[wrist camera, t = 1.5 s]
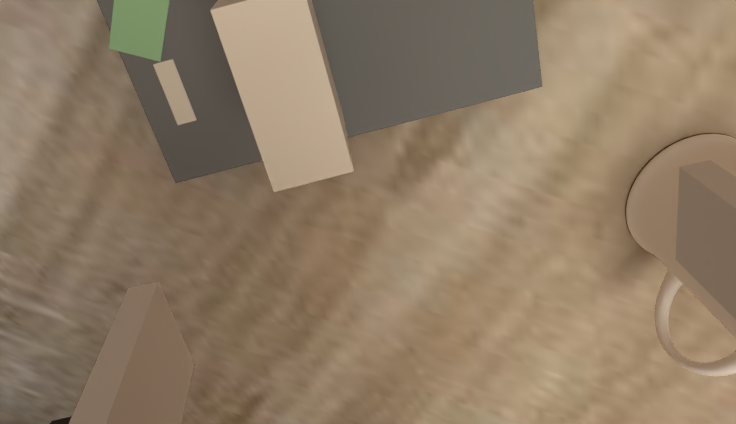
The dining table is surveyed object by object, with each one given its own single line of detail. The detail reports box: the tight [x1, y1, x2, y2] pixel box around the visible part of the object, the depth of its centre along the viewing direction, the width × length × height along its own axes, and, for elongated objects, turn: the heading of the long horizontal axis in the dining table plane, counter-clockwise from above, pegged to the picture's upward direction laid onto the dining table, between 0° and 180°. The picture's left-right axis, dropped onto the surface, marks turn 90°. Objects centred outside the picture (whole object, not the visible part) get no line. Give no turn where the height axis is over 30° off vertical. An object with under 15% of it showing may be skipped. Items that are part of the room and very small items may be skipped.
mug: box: [626, 134, 736, 376], centre depth 34 cm, size 12×8×12 cm
